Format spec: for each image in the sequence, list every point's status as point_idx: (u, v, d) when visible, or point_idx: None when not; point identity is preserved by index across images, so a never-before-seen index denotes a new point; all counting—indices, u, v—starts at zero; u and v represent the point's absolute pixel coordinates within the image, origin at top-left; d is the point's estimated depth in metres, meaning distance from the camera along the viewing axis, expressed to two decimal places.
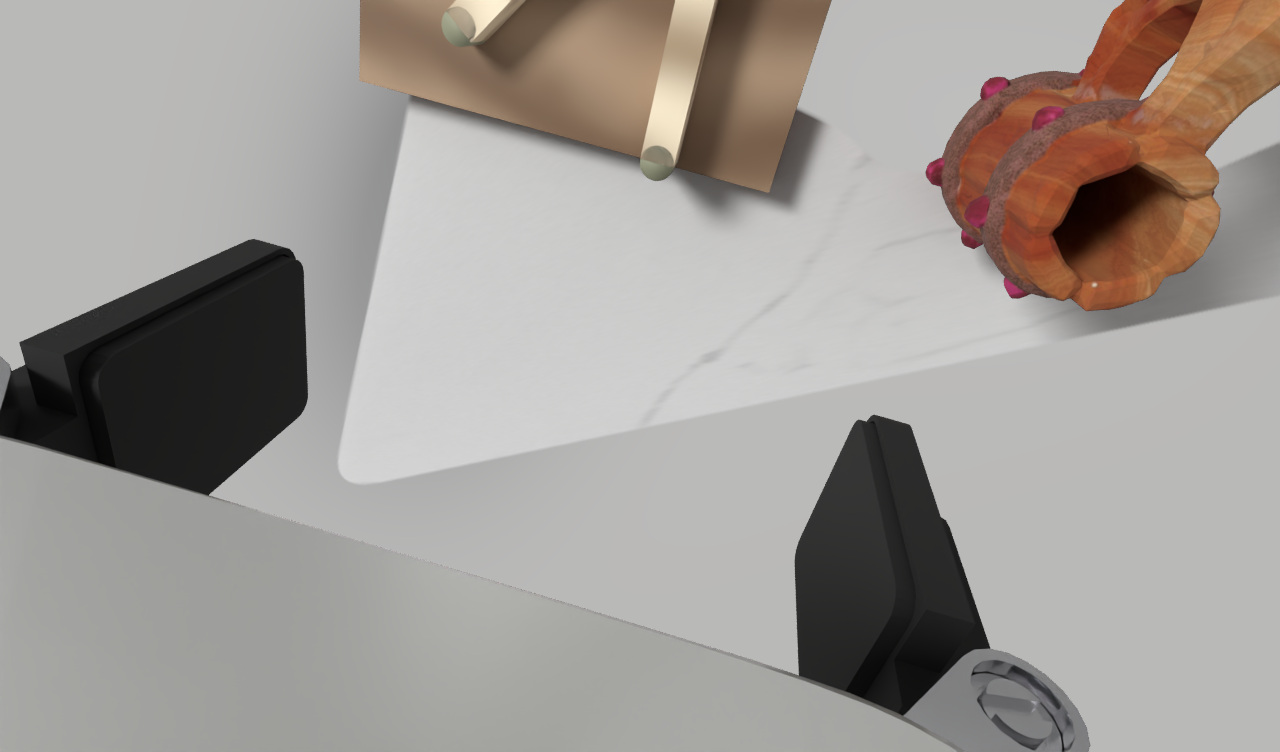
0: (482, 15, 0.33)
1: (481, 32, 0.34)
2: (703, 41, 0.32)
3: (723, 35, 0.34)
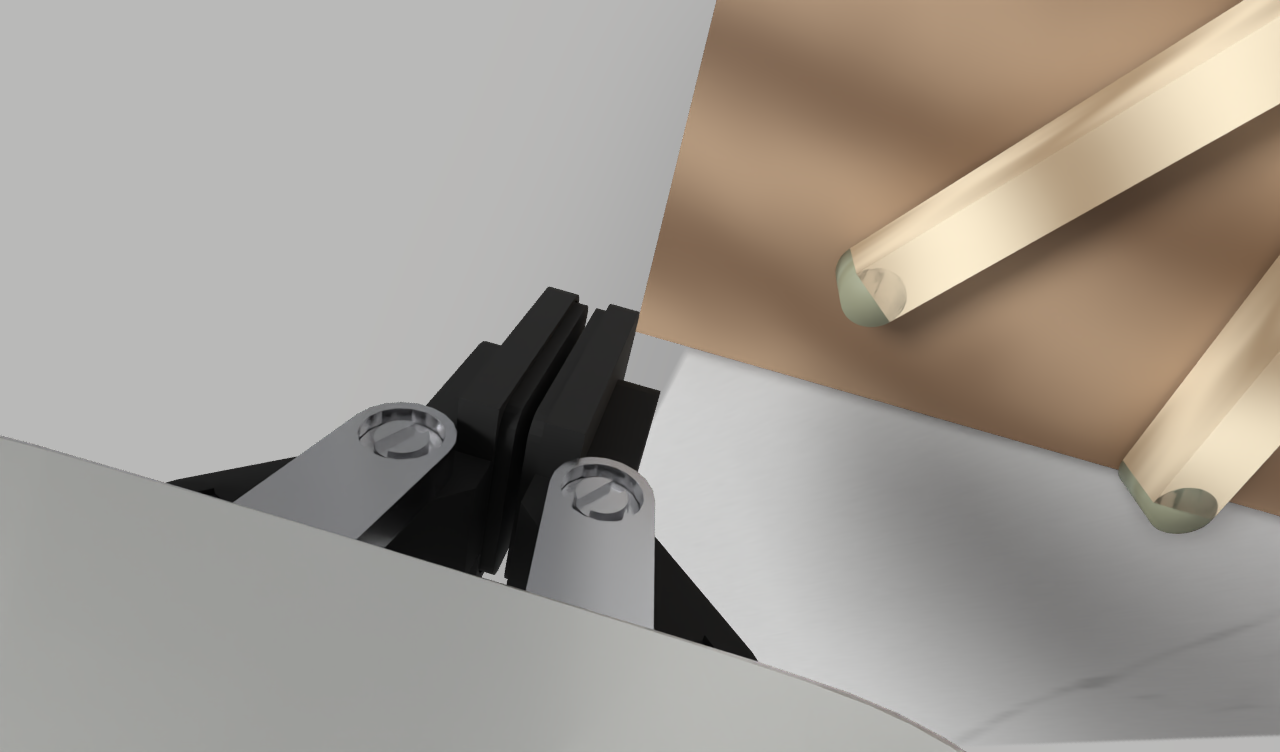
0: (925, 284, 0.19)
1: (912, 307, 0.19)
2: None
3: None
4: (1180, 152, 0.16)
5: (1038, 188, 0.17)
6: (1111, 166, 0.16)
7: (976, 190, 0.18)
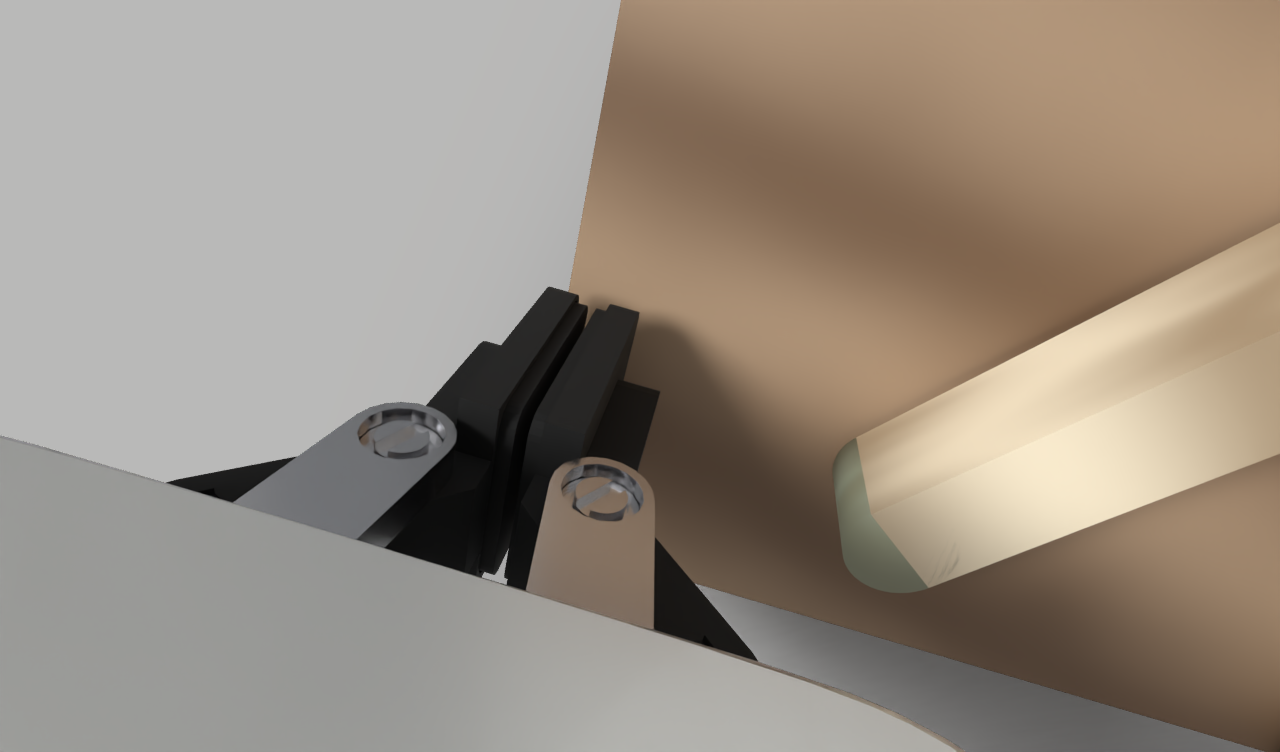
0: (995, 537, 0.10)
1: None
2: None
3: None
4: None
5: (1224, 395, 0.09)
6: None
7: (1094, 383, 0.10)
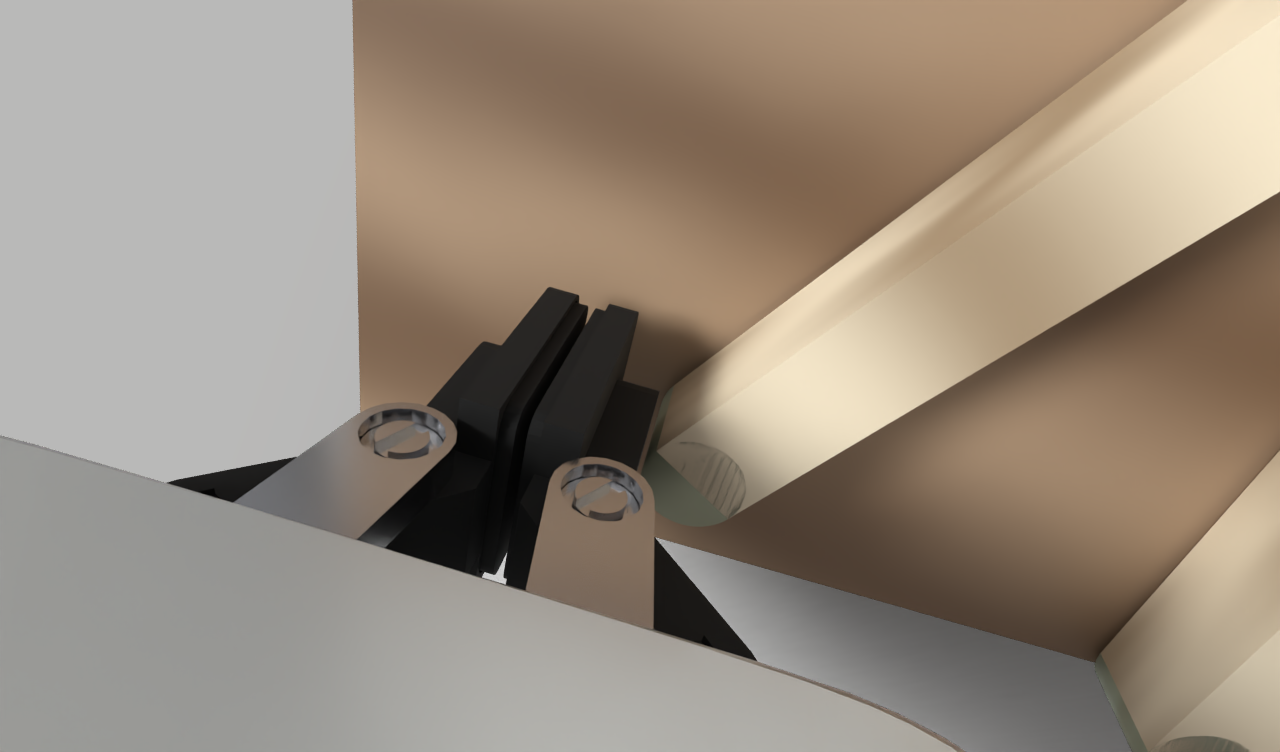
0: (771, 463, 0.11)
1: (760, 494, 0.11)
2: None
3: None
4: (1196, 228, 0.08)
5: (933, 304, 0.09)
6: (1064, 260, 0.09)
7: (834, 306, 0.10)
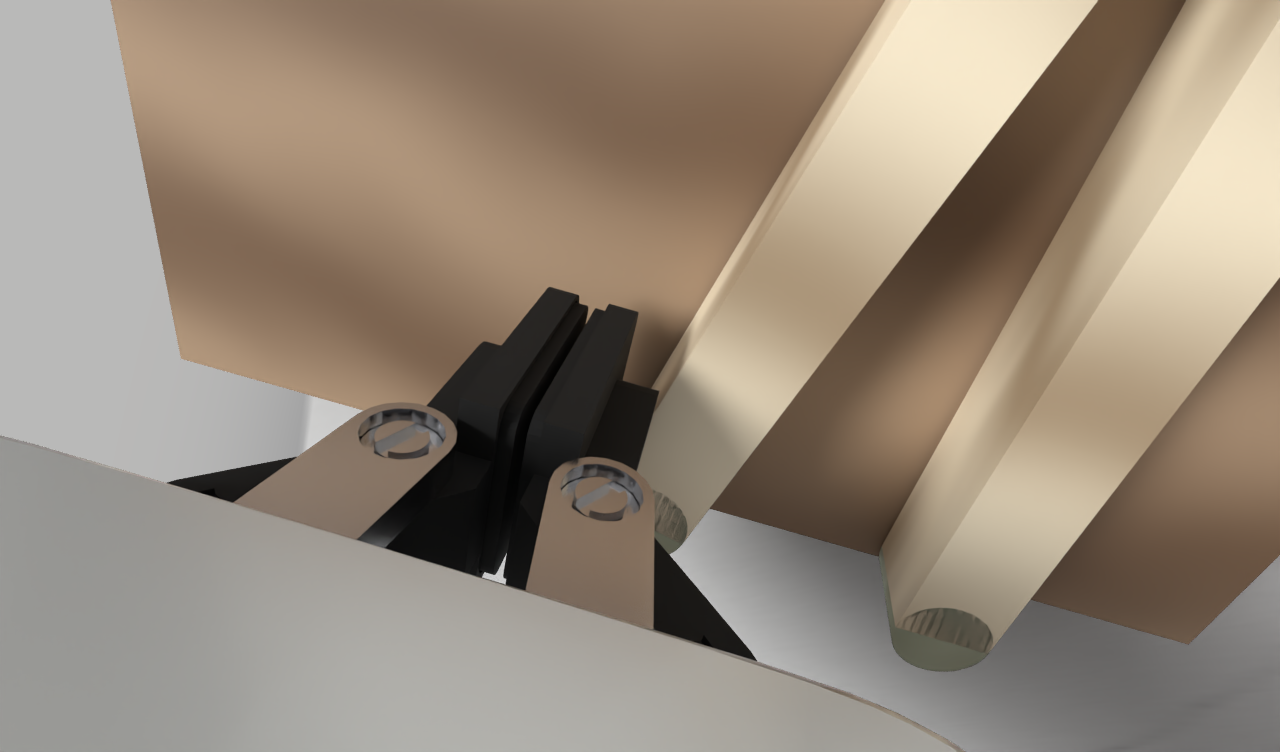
0: (693, 488, 0.12)
1: None
2: (1183, 396, 0.10)
3: None
4: (935, 194, 0.09)
5: (755, 321, 0.10)
6: (840, 254, 0.10)
7: (691, 343, 0.11)
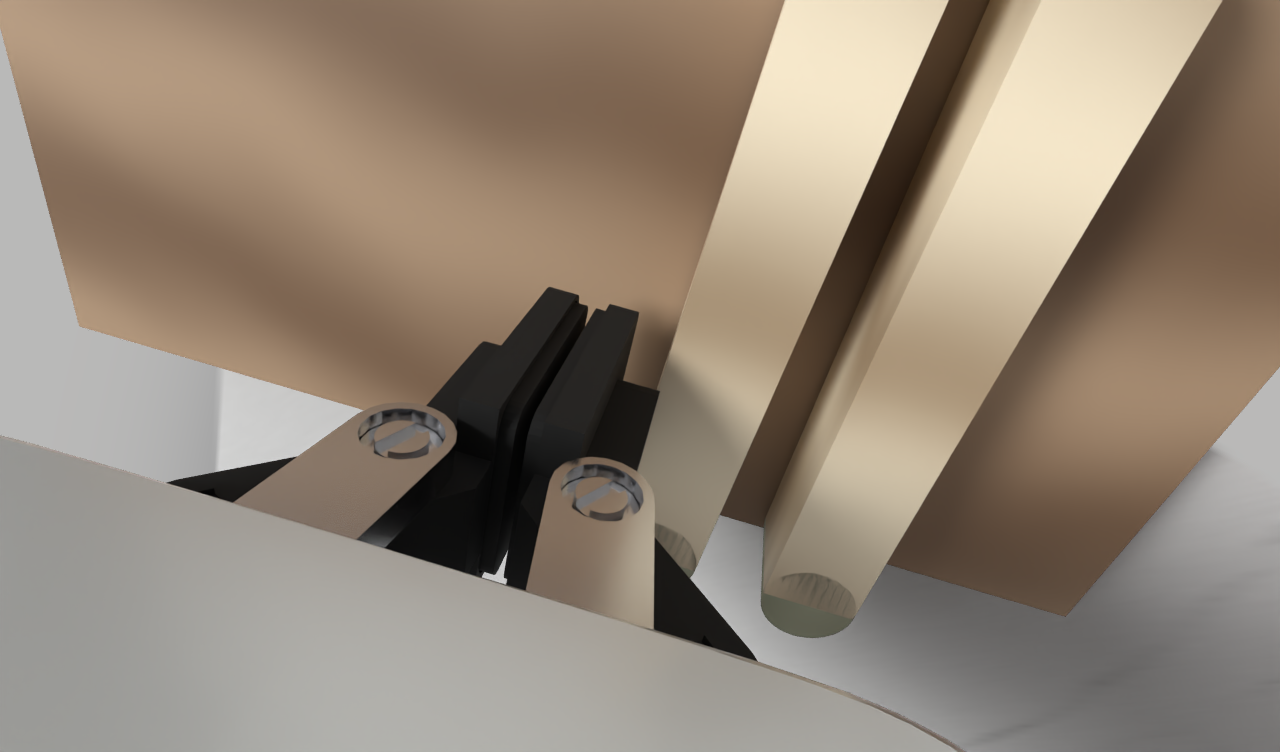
0: (691, 515, 0.13)
1: None
2: (1005, 357, 0.10)
3: None
4: (846, 203, 0.09)
5: (708, 350, 0.11)
6: (772, 274, 0.10)
7: None
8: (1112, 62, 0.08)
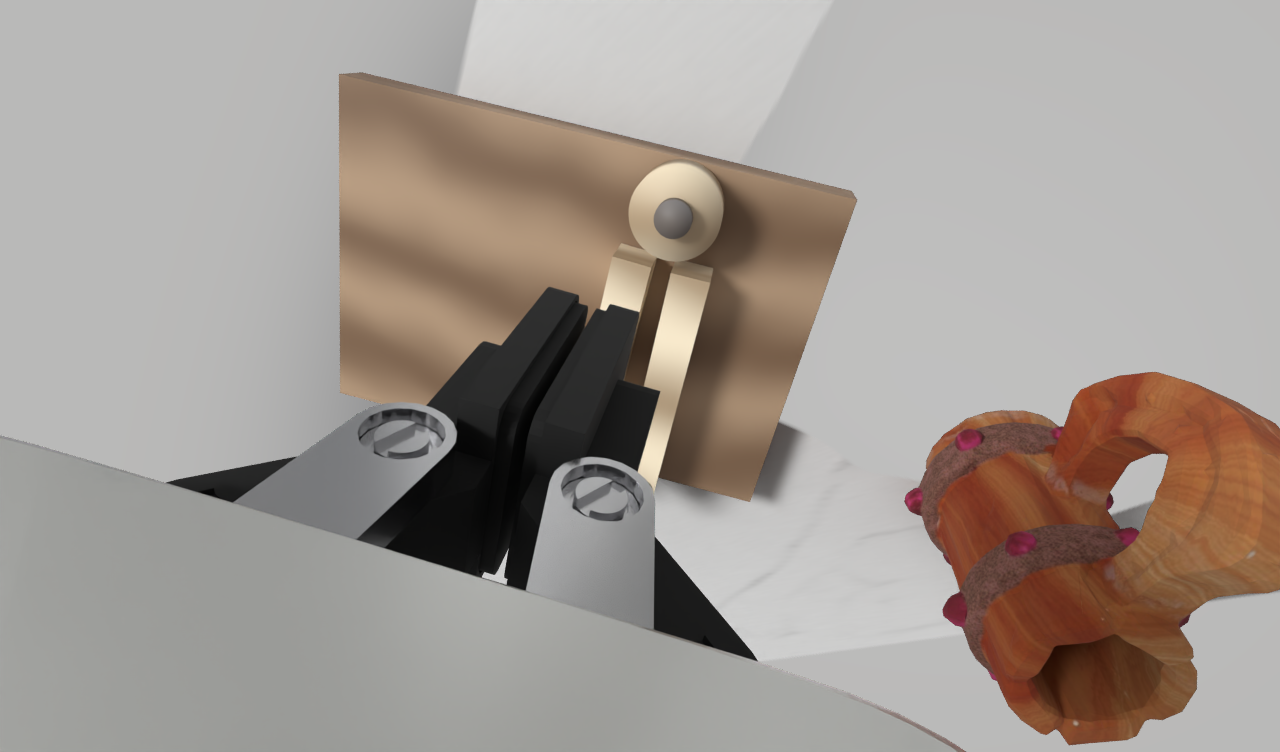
0: None
1: None
2: (678, 396, 0.33)
3: (699, 372, 0.34)
4: None
5: None
6: None
7: None
8: (683, 320, 0.31)
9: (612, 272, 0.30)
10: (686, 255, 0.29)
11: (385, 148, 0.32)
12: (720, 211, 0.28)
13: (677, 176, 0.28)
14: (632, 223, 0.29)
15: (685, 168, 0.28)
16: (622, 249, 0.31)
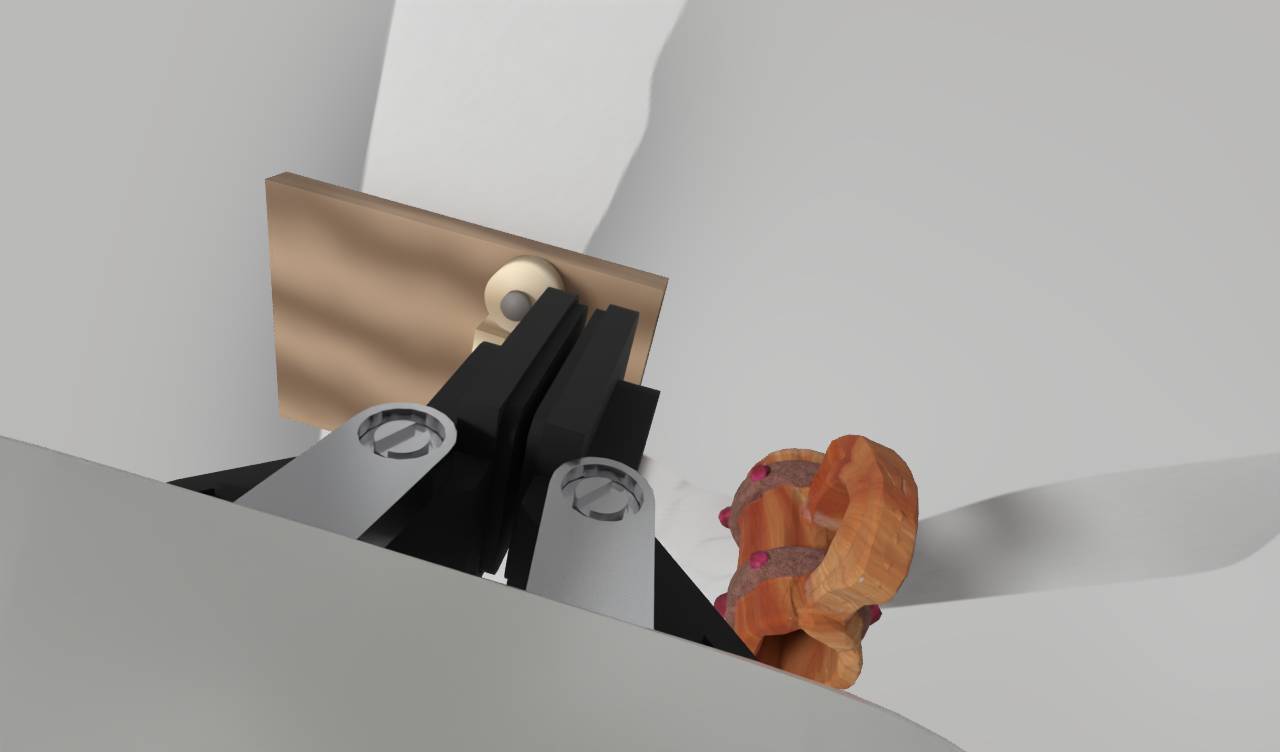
0: None
1: None
2: None
3: None
4: None
5: None
6: None
7: None
8: None
9: (476, 340, 0.39)
10: None
11: (304, 234, 0.40)
12: None
13: (518, 274, 0.37)
14: (488, 306, 0.38)
15: (523, 269, 0.36)
16: (487, 320, 0.40)
